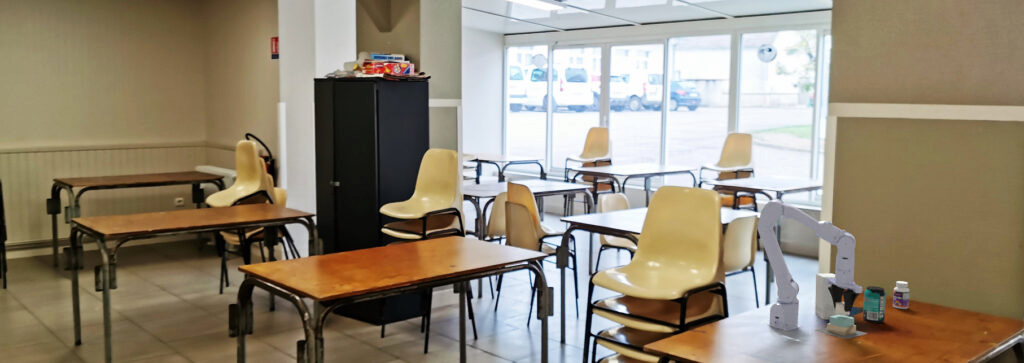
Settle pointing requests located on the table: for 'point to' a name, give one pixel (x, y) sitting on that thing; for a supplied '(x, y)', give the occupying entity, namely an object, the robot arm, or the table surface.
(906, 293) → the pill bottle
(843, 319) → the top block
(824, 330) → the mat
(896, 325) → the table surface
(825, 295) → the skincare box
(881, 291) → the beverage can
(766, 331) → the table surface
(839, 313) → the white short cylinder
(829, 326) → the bottom block
